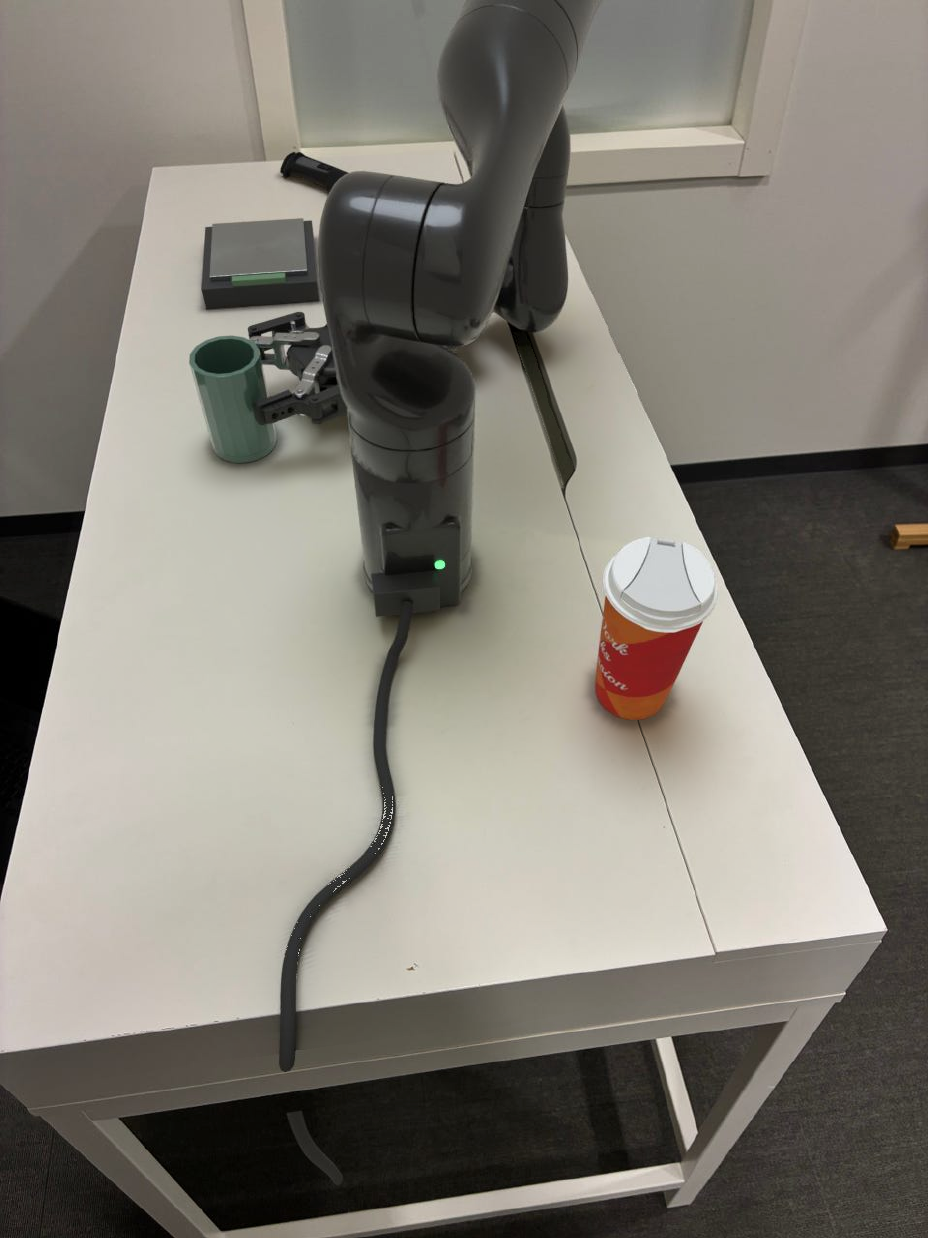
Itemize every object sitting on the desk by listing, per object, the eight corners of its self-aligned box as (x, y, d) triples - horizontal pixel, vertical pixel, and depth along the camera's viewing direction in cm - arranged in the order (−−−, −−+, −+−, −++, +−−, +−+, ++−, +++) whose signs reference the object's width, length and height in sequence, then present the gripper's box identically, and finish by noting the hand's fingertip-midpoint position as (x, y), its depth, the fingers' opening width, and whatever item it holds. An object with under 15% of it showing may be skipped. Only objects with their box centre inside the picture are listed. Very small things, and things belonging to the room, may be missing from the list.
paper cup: (587, 643, 72) (611, 522, 61) (682, 659, 71) (724, 540, 60) (575, 723, 67) (599, 608, 56) (676, 742, 66) (721, 629, 55)
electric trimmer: (365, 212, 116) (364, 188, 113) (278, 176, 121) (275, 153, 119) (383, 201, 118) (382, 177, 115) (297, 166, 123) (294, 143, 121)
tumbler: (277, 460, 85) (259, 373, 77) (212, 465, 85) (187, 379, 77) (276, 419, 89) (259, 332, 81) (213, 424, 88) (190, 338, 81)
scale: (319, 300, 102) (316, 275, 100) (206, 309, 101) (199, 283, 99) (314, 239, 111) (311, 214, 108) (209, 246, 110) (203, 221, 107)
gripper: (348, 268, 89) (196, 318, 83) (422, 338, 81) (262, 398, 76) (354, 333, 94) (213, 384, 89) (424, 404, 87) (275, 464, 82)
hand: (236, 390), depth 82 cm, fingers open, 8 cm apart
